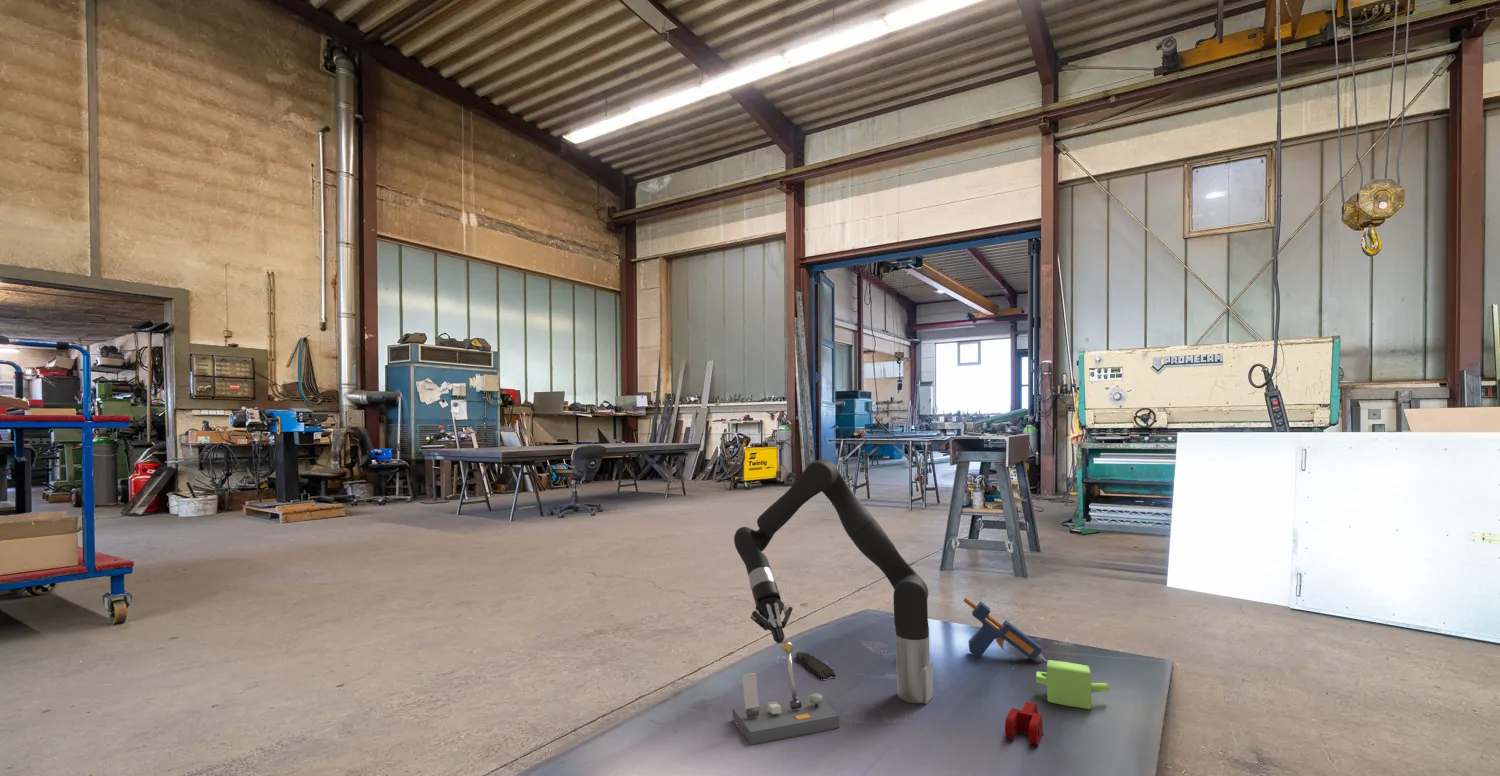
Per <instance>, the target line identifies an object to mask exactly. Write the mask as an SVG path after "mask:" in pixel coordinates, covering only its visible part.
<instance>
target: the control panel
mask: <svg viewBox="0 0 1500 776" xmlns="http://www.w3.org/2000/svg"><path fill="white" fill-rule="evenodd" d="M810 695H811V694H809V695H801V696H797V700H800V701H801V708H798V709H791V707H790V701H793V699H792V697H791V698H786V699H779V700H775V701H773V700H772V702H777V704H779V705H780V706H781V713H777V714H772V713H770V712H769V711H768V708H767V704H768V703H770V702H771V701H770V702H769V701H768V702H762V703H759V707H758V709H759V715H758V716H753V717H747V715H746V709H745V705H744V706H739V707H733V708H732V720H733V719H734V721H735V722H736V723H737V725H738V726H739V728H740V729H741V731H742V732H743V733H742V732H741V731H740V732H741V733H742V735H743V734H744V735H745V736H744V735H743V736H744V738H745V739H746V738H747V739H746V740H747V741H748V743H749V744H750V745H758V744H763V743H768V742H772V741H779V740H783V739H789V738H793V737H798V736H804V735H808V734H814V733H818V732H824V731H829V730H834V729H839V728H840V715H839V714H838V713H837V712H836V711H834V709H832V708H831V707H830V706H829V705H828V704H827V703H826V702H825V701H823V700H822V703H820V704H818V707H815V704H814V703H811V702H810ZM734 721H733V722H734ZM735 722H734V723H735ZM737 725H736V726H737ZM738 726H737V727H738ZM739 728H738V729H739ZM740 729H739V730H740Z"/></svg>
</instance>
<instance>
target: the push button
mask: <svg viewBox="0 0 1500 776" xmlns="http://www.w3.org/2000/svg"><path fill="white" fill-rule="evenodd" d="M809 695H810V702H811V703H814V704H815V707H818V704H820V703H822V701H823V695H822V694H821V693H818V692H816V693H811V694H809Z"/></svg>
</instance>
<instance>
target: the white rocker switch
mask: <svg viewBox="0 0 1500 776" xmlns="http://www.w3.org/2000/svg"><path fill="white" fill-rule="evenodd" d="M767 708H768V711H769V712H770V713H772V714H777V713H781V706H780V705H779V704H777V702H773V701H770V703H768V704H767Z"/></svg>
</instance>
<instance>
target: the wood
mask: <svg viewBox="0 0 1500 776" xmlns="http://www.w3.org/2000/svg"><path fill="white" fill-rule="evenodd" d="M795 656H796V657H797V659H798V661H800V663H801V664H802V663H803V664H802V666H804V667H805V666H806V667H805V668H807V669H808V670H809V671H810V672H812V674H813V675H815V676H816V675H817V676H818V677H819V678H820V679H819V678H818V677H817V676H816V677H817V678H818V679H819V680H821V679H822V680H823V679H828V678H829V677H831V676H832V677H834V678H835V677H836V673H835V671H834V669H831V668H832V667H831V666H829V665H827V664H826V662H823V661H822V660H821V659H819V658H816V657H815V656H814V655H811V653H809V652H808V653H807V652H802V651H801V652H800V651H797V652H796V654H795ZM830 667H831V668H830ZM822 680H821V681H822Z"/></svg>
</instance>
